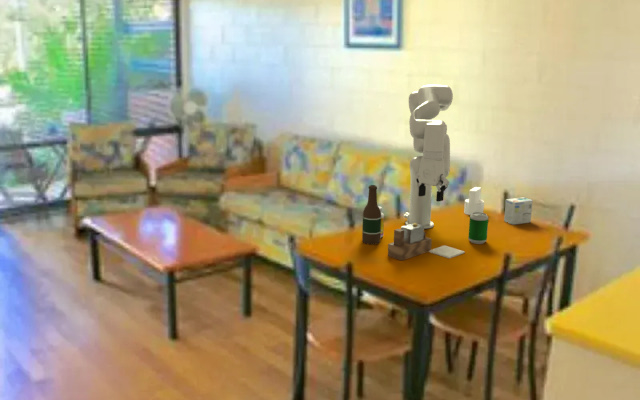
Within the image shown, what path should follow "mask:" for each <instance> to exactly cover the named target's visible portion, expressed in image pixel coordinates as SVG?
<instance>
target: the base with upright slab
mask: <svg viewBox="0 0 640 400" xmlns="http://www.w3.org/2000/svg"><path fill="white" fill-rule="evenodd" d="M468 191H469V192H468V193H469V194H468V198H466V199H465V200H464V207H463V208H464V210H463V213H464V214H465V215H467V216H470V215H471V214H472V213H475V212H481V213H484V206H485V201H484V200H483V199H481V194H482V187H480V186H474V187H473V188H471V189H469V190H468Z"/></svg>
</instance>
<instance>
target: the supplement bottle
mask: <svg viewBox="0 0 640 400" xmlns="http://www.w3.org/2000/svg"><path fill="white" fill-rule="evenodd" d="M378 207H379V209H380V212H381V235H380V239H381V238H382V237H383V236H384V231H385V229H384V227H385V224H384V223H385V214H384V213H383V212H382V210H383V207H382V206H380V205H378Z"/></svg>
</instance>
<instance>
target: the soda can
mask: <svg viewBox="0 0 640 400" xmlns="http://www.w3.org/2000/svg"><path fill="white" fill-rule="evenodd" d="M488 228H489V216H488V215H487V213H485V212H483V213H481V212H475V213H472V214H471V215H469V223H468V240H469V241H470V243H472V244H475V245H476V244H477V245H483V244H485V242H487V240H488Z"/></svg>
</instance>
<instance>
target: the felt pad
mask: <svg viewBox="0 0 640 400" xmlns="http://www.w3.org/2000/svg"><path fill="white" fill-rule="evenodd" d="M428 253H431V254H433V255H437V256H440V257H444V258H445V259H446V258H447V259H452V258H455V257H457V256H460V255H462V254H465V253H466V252H465V251H464V250H460V249H457V248H455V247H451V246H448V245H440V246H439V247H438V246H437V247H436V248H433V249H432V248H431V250H429V251H428Z"/></svg>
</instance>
